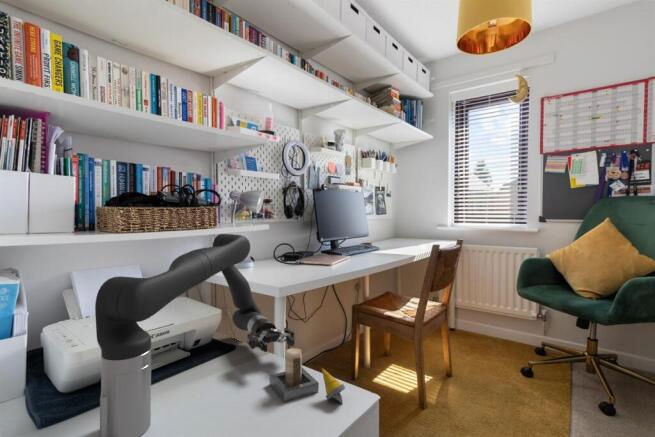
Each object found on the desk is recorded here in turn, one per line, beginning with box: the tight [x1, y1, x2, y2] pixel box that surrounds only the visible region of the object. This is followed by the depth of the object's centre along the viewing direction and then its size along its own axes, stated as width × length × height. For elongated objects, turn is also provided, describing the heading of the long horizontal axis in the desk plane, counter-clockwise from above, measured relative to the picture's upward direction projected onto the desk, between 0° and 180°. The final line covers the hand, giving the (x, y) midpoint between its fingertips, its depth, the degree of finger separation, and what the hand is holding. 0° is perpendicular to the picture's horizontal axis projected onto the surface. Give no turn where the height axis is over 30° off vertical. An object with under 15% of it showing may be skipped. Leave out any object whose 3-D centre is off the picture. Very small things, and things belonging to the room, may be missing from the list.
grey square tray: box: [269, 367, 320, 403], centre depth 90 cm, size 10×10×3 cm
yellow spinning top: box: [321, 367, 346, 405], centre depth 85 cm, size 5×5×10 cm
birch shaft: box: [284, 347, 303, 388], centre depth 90 cm, size 4×4×10 cm
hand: (279, 345), depth 98 cm, fingers open, 8 cm apart
